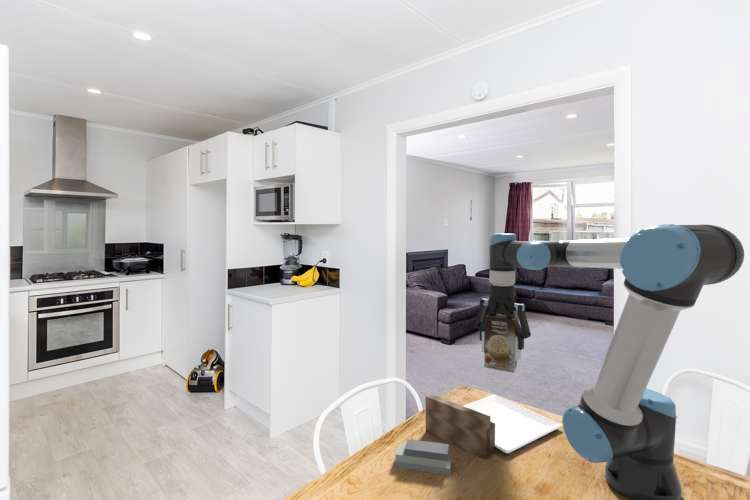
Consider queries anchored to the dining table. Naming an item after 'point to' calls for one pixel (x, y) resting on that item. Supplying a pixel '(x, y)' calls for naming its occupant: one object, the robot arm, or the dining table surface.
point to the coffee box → (500, 343)
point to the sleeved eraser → (424, 456)
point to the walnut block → (460, 426)
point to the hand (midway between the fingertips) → (500, 355)
